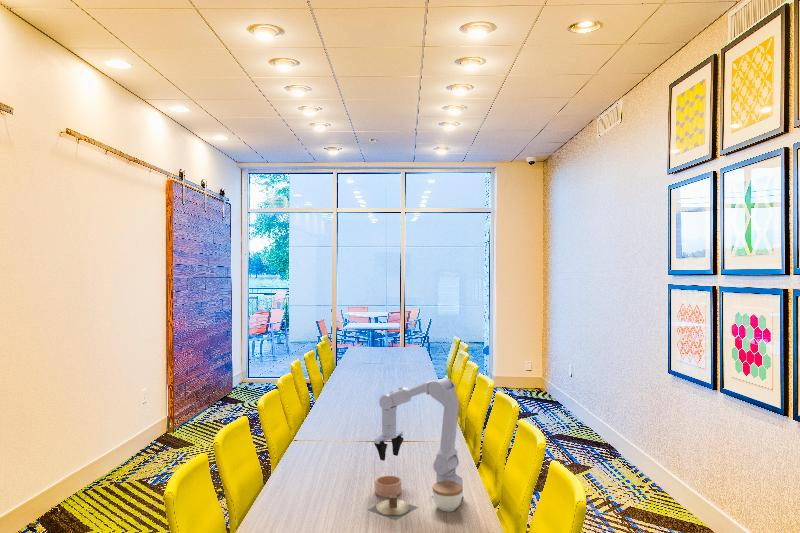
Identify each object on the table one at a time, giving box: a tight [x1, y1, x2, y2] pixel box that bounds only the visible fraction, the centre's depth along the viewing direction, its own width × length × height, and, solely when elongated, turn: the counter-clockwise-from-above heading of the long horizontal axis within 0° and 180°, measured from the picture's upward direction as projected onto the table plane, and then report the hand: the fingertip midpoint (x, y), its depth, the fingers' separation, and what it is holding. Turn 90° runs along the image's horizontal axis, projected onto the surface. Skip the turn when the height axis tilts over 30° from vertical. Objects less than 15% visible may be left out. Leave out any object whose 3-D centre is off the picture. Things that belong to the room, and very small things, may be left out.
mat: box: [367, 498, 419, 521], centre depth 199 cm, size 13×13×1 cm
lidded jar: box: [432, 481, 464, 513], centre depth 200 cm, size 11×11×9 cm
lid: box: [376, 495, 411, 516], centre depth 199 cm, size 12×12×4 cm
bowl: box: [374, 474, 403, 498], centre depth 215 cm, size 10×10×4 cm
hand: (389, 457), depth 225 cm, fingers open, 7 cm apart
